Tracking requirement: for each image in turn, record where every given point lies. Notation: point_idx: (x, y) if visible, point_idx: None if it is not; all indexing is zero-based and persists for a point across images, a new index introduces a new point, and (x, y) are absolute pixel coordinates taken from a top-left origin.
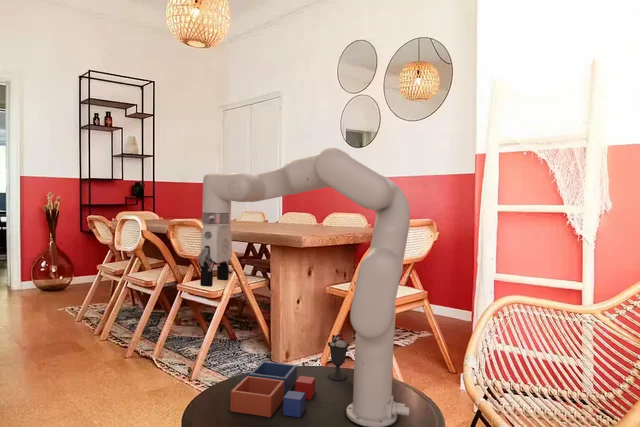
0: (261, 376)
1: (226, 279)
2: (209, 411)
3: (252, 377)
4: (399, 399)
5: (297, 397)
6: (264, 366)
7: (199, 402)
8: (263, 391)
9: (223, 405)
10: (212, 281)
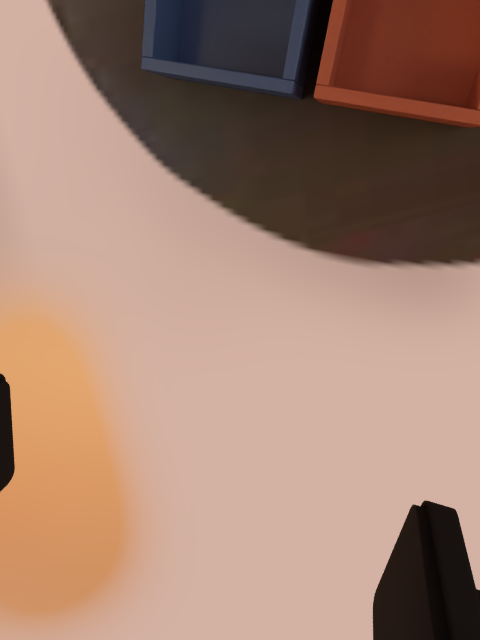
0: (304, 30)
1: (2, 385)
2: (465, 201)
3: (330, 67)
4: None
5: None
6: (159, 58)
7: (394, 252)
8: (347, 18)
9: (417, 165)
10: (439, 549)
